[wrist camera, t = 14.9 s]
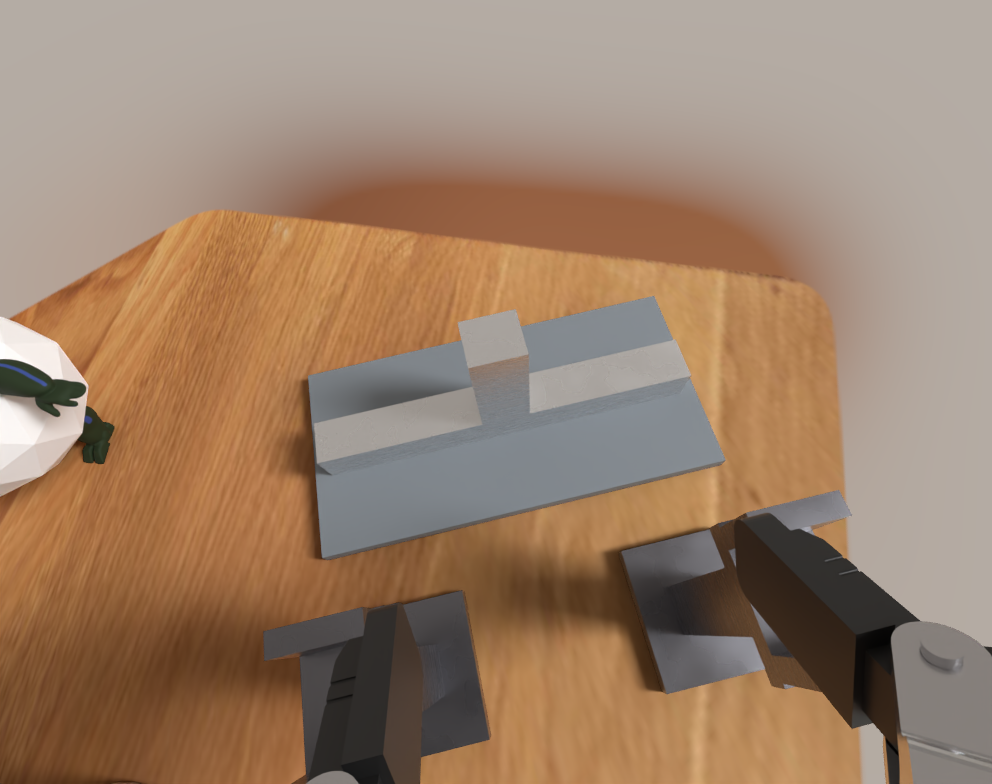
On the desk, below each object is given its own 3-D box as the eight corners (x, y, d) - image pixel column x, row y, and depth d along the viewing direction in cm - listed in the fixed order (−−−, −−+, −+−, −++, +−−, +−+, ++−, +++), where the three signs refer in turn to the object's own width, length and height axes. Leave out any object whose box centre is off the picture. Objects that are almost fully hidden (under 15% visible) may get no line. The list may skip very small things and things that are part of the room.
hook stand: (374, 765, 26) (211, 904, 13) (359, 617, 29) (213, 606, 16) (774, 663, 27) (1007, 695, 13) (719, 528, 30) (867, 447, 16)
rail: (332, 475, 31) (256, 417, 23) (329, 437, 32) (255, 368, 24) (680, 393, 32) (733, 307, 24) (665, 359, 33) (711, 264, 25)
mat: (328, 560, 30) (321, 557, 29) (313, 382, 35) (308, 375, 34) (720, 465, 31) (725, 460, 30) (651, 304, 36) (654, 296, 35)
